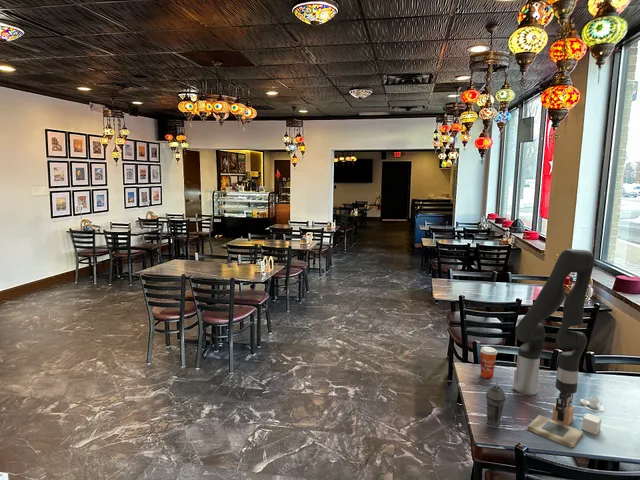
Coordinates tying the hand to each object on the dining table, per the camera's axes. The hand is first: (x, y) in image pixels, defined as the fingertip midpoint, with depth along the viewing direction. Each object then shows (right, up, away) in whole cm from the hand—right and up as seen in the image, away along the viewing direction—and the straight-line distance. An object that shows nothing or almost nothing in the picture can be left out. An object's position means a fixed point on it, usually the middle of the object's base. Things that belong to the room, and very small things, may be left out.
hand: (563, 417), depth 175 cm
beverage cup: (-30, -1, -3) cm, 30 cm away
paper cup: (-16, +5, +38) cm, 42 cm away
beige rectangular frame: (-8, -2, -9) cm, 12 cm away
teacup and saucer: (+20, 0, +14) cm, 25 cm away
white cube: (+8, -2, -6) cm, 10 cm away
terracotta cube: (0, -1, 0) cm, 1 cm away
